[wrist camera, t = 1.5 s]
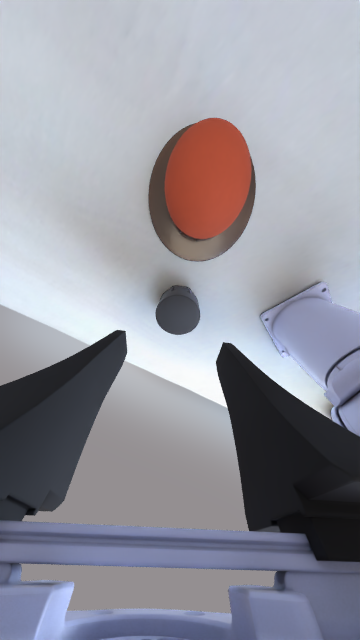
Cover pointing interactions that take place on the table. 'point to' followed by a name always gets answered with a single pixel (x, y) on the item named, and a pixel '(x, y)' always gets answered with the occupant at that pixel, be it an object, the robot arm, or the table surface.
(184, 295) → the cap
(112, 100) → the table surface
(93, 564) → the robot arm
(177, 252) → the ball stand
